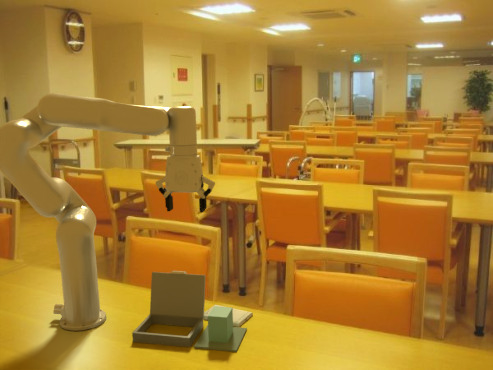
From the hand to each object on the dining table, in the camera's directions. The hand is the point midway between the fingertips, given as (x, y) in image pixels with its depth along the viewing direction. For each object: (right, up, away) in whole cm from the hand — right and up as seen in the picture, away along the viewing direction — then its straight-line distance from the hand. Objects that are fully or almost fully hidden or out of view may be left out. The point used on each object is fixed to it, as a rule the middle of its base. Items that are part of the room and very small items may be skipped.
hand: (186, 210), depth 145 cm
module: (+11, -32, -12) cm, 36 cm away
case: (-4, -33, -9) cm, 34 cm away
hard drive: (+12, -31, +1) cm, 33 cm away
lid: (-2, -23, -3) cm, 23 cm away
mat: (+11, -33, -12) cm, 36 cm away
